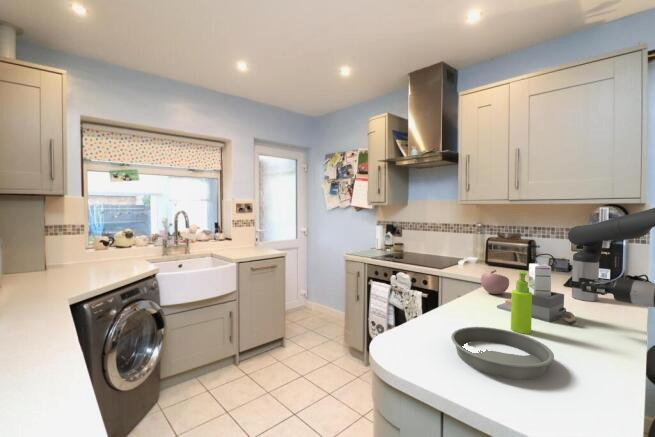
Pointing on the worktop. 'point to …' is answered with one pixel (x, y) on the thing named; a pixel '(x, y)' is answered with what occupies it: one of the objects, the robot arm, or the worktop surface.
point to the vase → (568, 317)
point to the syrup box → (540, 279)
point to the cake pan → (499, 361)
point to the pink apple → (494, 283)
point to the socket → (542, 306)
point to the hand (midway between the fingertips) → (574, 281)
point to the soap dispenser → (521, 306)
